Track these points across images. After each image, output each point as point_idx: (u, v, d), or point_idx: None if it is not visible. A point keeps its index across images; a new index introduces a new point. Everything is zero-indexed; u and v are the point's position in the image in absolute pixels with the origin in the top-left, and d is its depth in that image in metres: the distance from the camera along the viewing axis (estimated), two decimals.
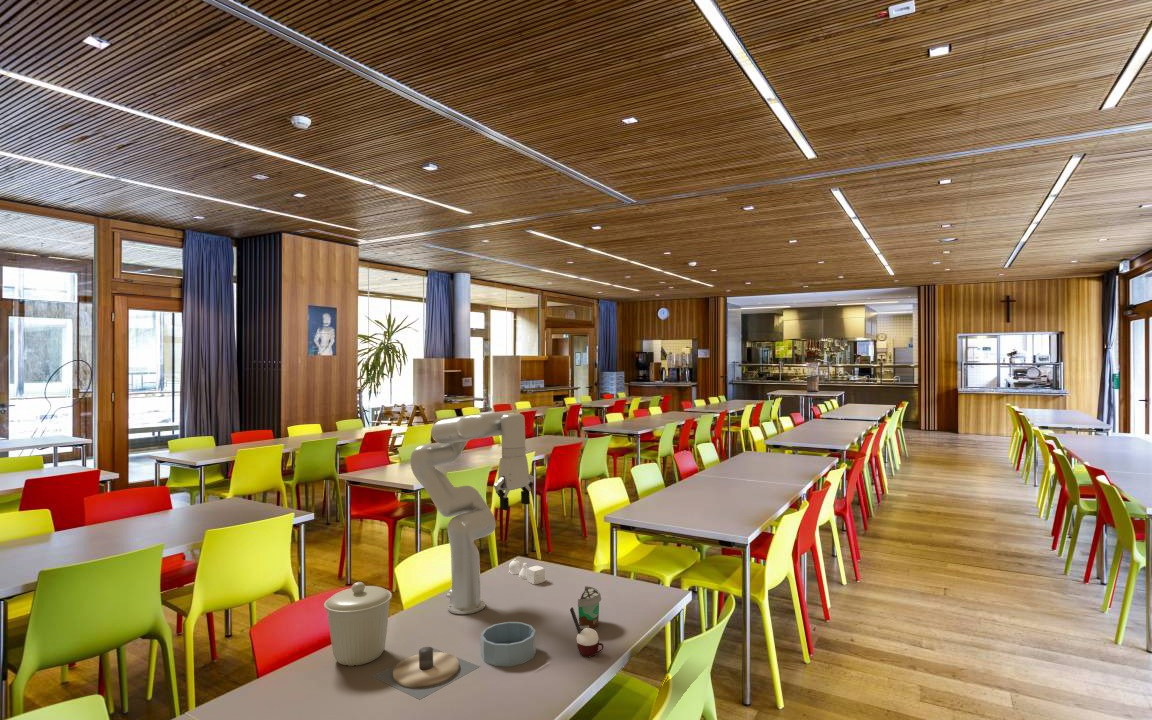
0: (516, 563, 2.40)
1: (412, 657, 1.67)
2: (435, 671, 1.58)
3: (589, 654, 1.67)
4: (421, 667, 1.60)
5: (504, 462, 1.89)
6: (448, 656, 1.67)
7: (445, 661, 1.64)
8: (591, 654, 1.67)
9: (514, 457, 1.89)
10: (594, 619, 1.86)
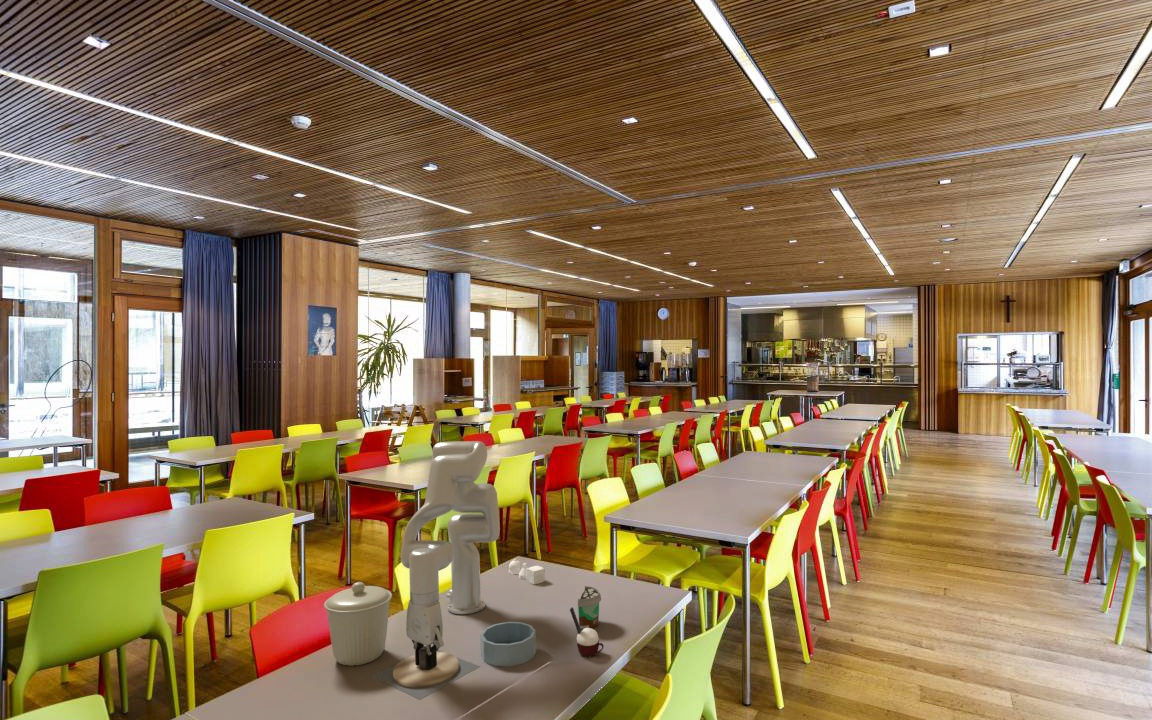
0: (516, 563, 2.39)
1: (412, 657, 1.67)
2: (435, 671, 1.59)
3: (589, 654, 1.67)
4: (421, 667, 1.60)
5: (436, 608, 1.59)
6: (448, 655, 1.67)
7: (445, 661, 1.64)
8: (591, 654, 1.67)
9: None
10: (594, 619, 1.86)
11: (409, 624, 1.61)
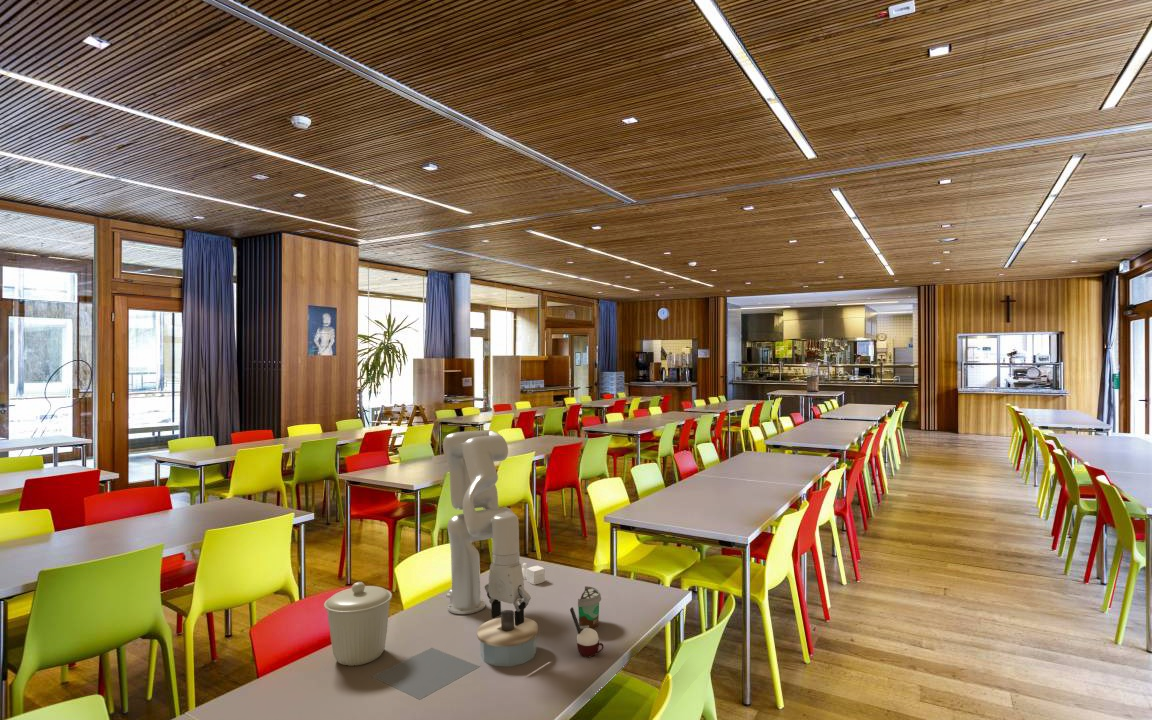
0: None
1: (492, 621, 1.76)
2: (517, 632, 1.68)
3: (589, 654, 1.67)
4: (504, 628, 1.69)
5: (518, 569, 1.68)
6: (526, 619, 1.76)
7: (524, 624, 1.73)
8: (591, 654, 1.67)
9: (519, 560, 1.72)
10: (594, 619, 1.86)
11: (492, 584, 1.70)
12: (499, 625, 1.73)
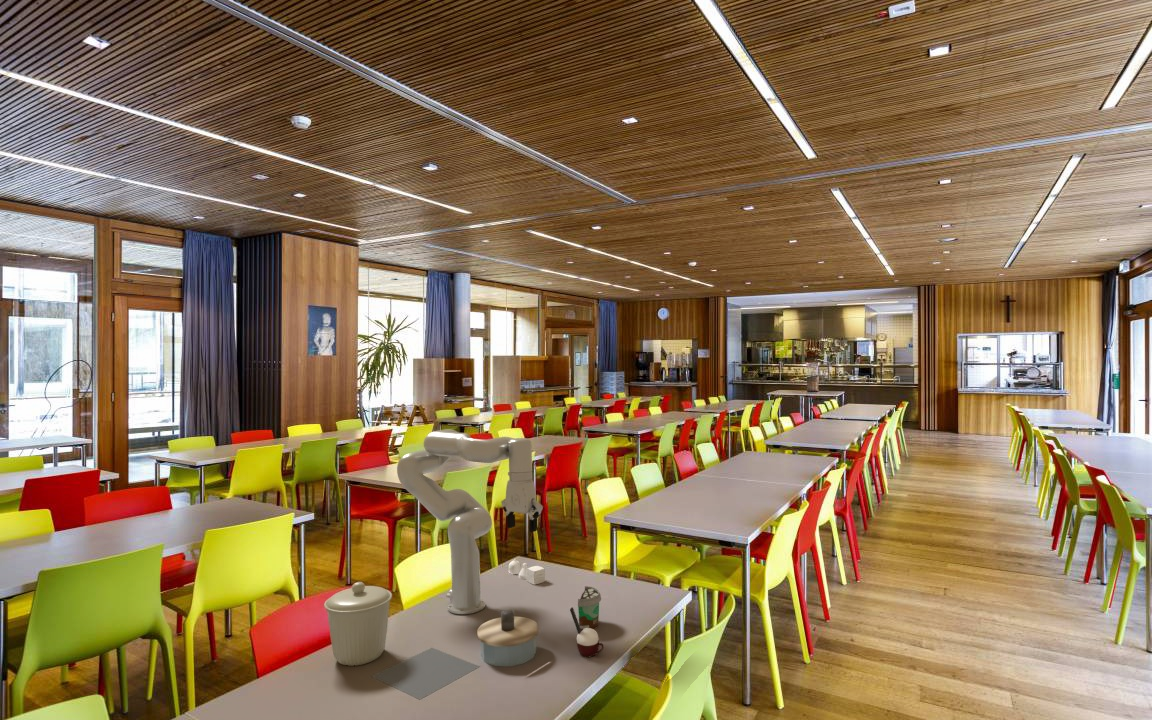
0: (516, 563, 2.39)
1: (492, 621, 1.76)
2: (517, 632, 1.68)
3: (589, 654, 1.67)
4: (504, 628, 1.69)
5: (531, 484, 1.95)
6: (526, 619, 1.76)
7: (524, 624, 1.73)
8: (591, 654, 1.67)
9: None
10: (594, 619, 1.86)
11: (508, 499, 1.97)
12: (499, 625, 1.73)
